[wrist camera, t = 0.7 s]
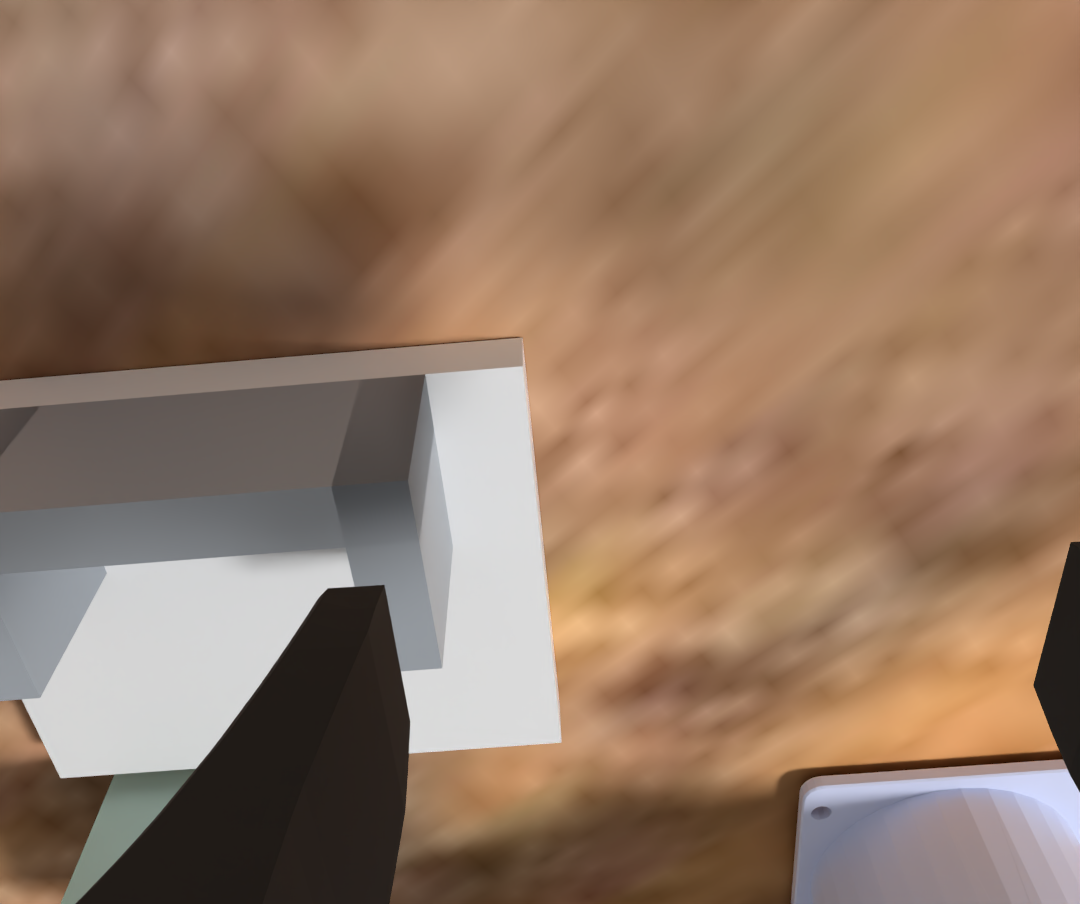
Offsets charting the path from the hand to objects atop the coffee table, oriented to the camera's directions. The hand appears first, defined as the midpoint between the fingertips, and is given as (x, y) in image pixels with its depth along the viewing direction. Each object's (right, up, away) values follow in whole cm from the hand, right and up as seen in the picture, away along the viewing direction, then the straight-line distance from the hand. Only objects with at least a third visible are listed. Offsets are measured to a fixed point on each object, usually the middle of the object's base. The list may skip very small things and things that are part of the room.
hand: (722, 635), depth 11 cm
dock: (-8, 0, +12) cm, 14 cm away
